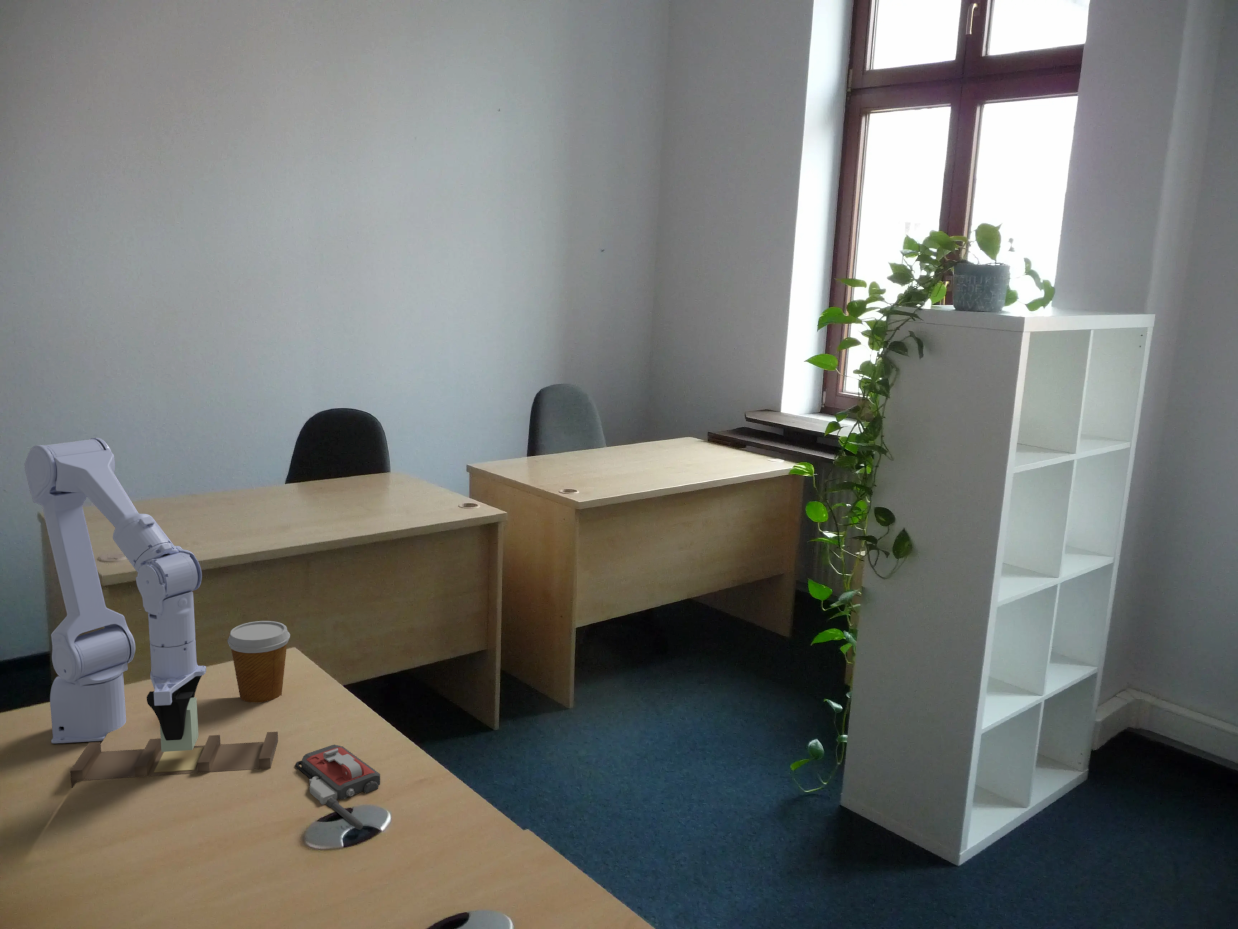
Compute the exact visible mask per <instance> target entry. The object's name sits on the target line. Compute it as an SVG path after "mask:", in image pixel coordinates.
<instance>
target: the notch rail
mask: <svg viewBox="0 0 1238 929" xmlns="http://www.w3.org/2000/svg"><path fill="white" fill-rule="evenodd" d="M101 742H102V741H90V742H88V744H87V745H86V746H85V748H84V749H83V751H82V752H81V753H80V755H79V757H78V758H77V760H76V761H75V763H74V765H73V766H72V767H71V769H70V770H69V772H70V775H69V776H70V785H71V786H70V787H71V789H72V788H74V787H75V784H76V783H77V782H79V781H80V782H82V781H83V782H84V781H85V782H86V781H99V780H100V781H101V780H110V779H111V780H113V779H127V778H128V779H129V778H141V777H142V778H144V777H159V776H161V777H162V776H174V775H176V776H177V775H188V774H189V775H191V774H203V773H205V774H206V773H218V772H219V773H220V772H222V773H223V772H233V771H237V772H238V771H248V770H249V771H252V770H264V769H265V770H267V769H271V768H272V765H273V761H274V757H275V754H276V750H277V747H278V743H279V731H266V734H265V738H264V740H263V741H258V742H257V741H256V742H255V741H254V742H238V743H224V744H222V743H221V735H220V734H215V735H208V737H207V740H206V742H205V744H204V745H194V748H193V750H184V751H168V752H162V751H161V737H160V738H149V739H148V742H147V743H146V745H145V747H144V748H143V749H142V748H139V749H126V750H125V749H124V750H121V749H120V750H107V751H106V750H105V751H102V748H101V747H102V745H101Z"/></svg>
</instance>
